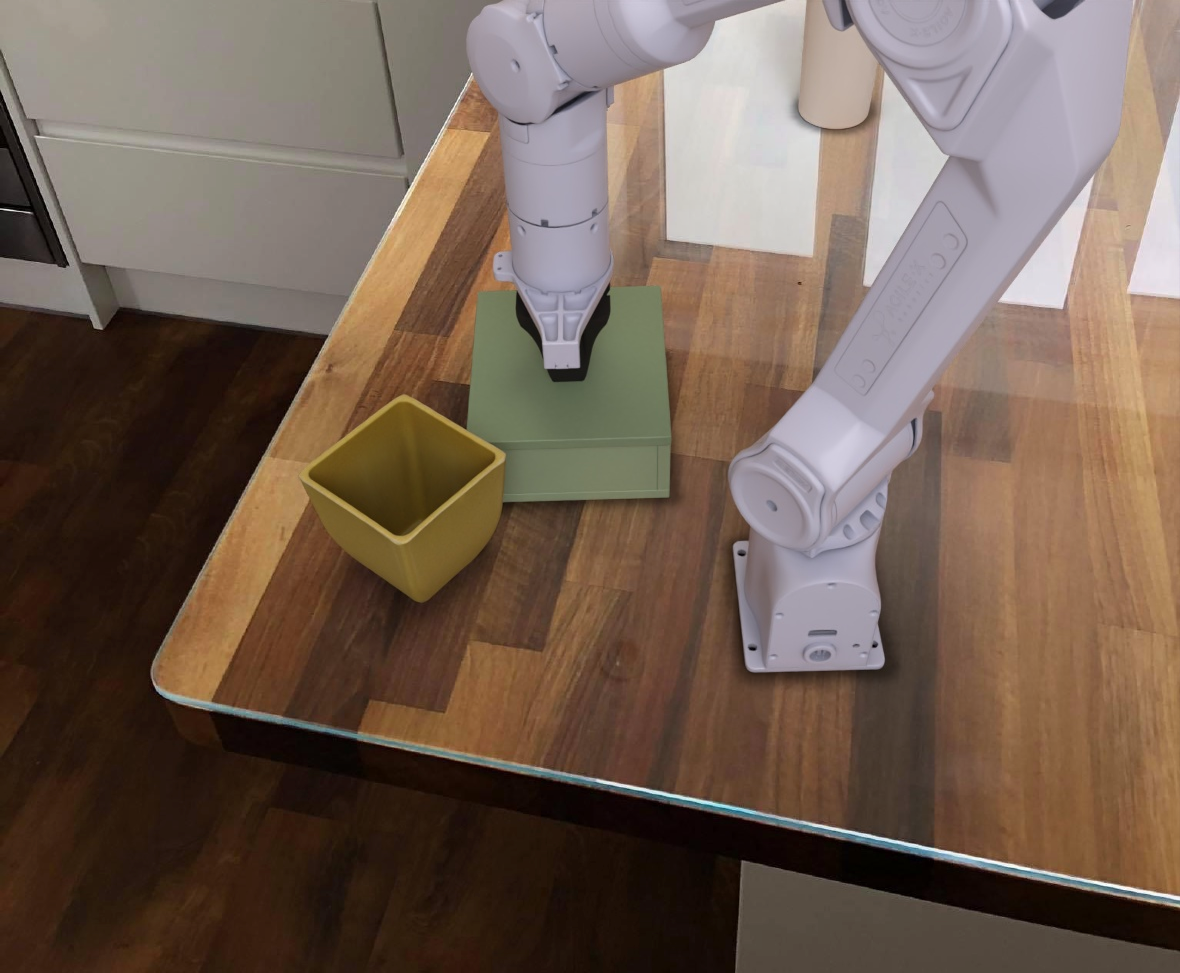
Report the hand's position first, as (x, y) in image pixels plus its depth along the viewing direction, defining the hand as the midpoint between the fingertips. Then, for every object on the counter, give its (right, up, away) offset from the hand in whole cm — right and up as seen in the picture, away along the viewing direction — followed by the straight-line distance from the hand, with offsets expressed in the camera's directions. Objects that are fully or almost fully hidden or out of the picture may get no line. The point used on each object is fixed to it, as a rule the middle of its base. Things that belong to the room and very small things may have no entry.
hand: (568, 374), depth 78 cm
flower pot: (-9, -12, -1) cm, 15 cm away
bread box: (0, -3, +6) cm, 7 cm away
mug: (+24, +27, +32) cm, 49 cm away
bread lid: (0, +1, +1) cm, 2 cm away
